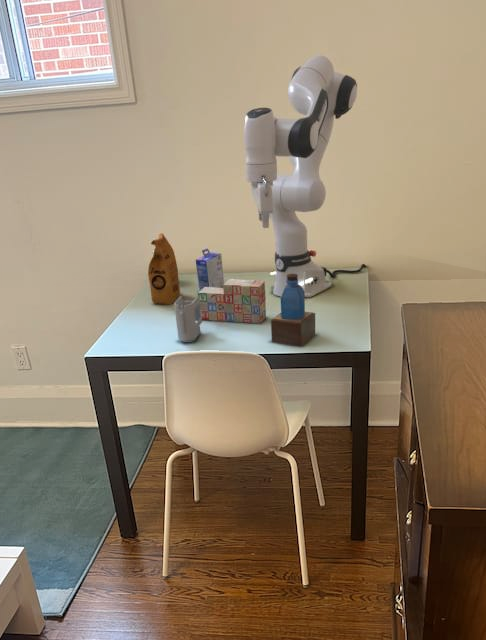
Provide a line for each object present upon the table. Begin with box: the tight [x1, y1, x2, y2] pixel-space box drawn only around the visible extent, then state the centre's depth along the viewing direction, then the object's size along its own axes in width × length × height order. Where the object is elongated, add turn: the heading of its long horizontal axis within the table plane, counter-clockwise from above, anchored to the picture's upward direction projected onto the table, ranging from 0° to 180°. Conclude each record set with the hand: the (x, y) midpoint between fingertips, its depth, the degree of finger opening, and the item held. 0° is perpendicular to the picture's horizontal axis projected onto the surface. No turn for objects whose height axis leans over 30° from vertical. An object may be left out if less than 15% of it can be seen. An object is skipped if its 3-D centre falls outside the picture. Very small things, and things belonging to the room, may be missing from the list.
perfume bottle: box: [280, 274, 306, 319], centre depth 196 cm, size 6×6×12 cm
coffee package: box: [147, 232, 181, 305], centre depth 237 cm, size 10×12×22 cm
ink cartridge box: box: [195, 248, 225, 291], centre depth 246 cm, size 10×6×14 cm, turn 147°
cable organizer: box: [173, 295, 203, 343], centre depth 207 cm, size 7×12×12 cm, turn 168°
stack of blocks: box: [197, 278, 267, 325], centre depth 218 cm, size 21×6×12 cm, turn 71°
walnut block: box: [270, 310, 316, 347], centre depth 202 cm, size 10×10×7 cm
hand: (263, 223), depth 198 cm, fingers open, 8 cm apart
